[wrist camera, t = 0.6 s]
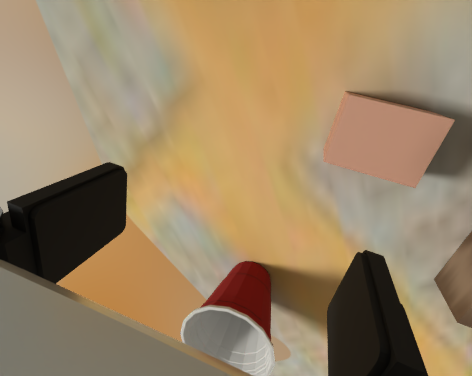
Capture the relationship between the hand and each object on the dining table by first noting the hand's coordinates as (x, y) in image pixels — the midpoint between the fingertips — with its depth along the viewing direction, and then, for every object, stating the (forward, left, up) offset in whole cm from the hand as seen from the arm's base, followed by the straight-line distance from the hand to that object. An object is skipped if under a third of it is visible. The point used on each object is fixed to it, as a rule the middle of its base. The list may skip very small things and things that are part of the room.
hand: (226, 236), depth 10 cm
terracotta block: (-2, +8, -21) cm, 23 cm away
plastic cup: (+22, +1, -21) cm, 31 cm away
